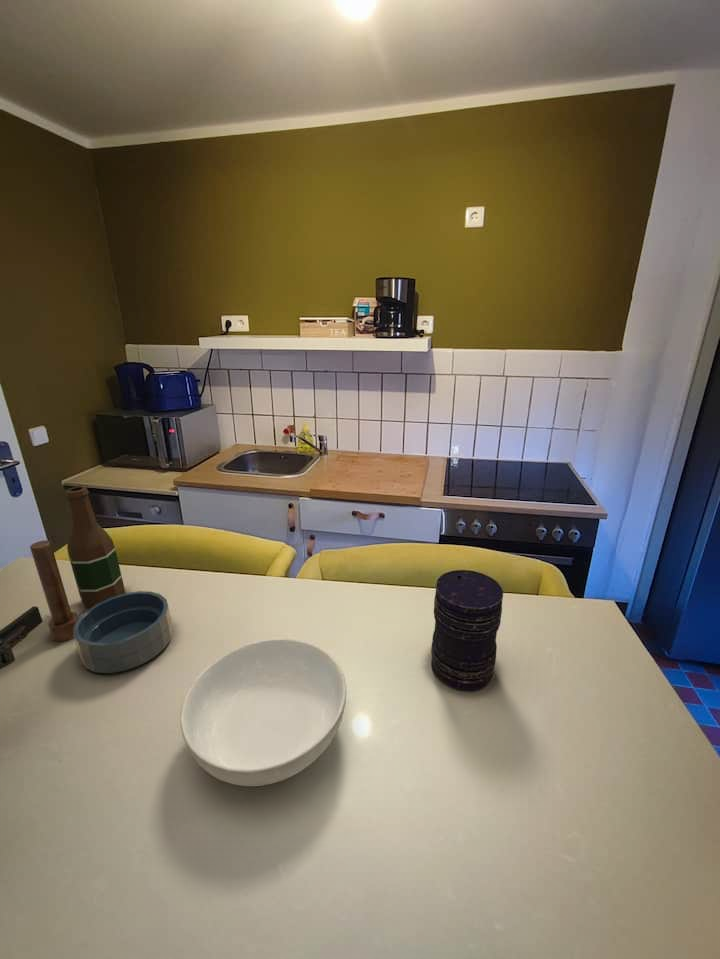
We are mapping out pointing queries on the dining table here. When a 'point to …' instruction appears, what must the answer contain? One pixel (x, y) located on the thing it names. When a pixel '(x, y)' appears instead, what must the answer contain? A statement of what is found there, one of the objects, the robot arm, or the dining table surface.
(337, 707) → the serving bowl
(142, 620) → the blue round dish
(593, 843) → the dining table surface
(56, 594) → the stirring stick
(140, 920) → the dining table surface
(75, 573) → the beer bottle
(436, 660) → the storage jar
